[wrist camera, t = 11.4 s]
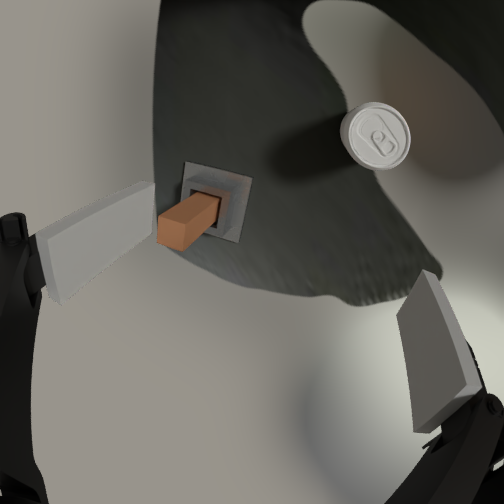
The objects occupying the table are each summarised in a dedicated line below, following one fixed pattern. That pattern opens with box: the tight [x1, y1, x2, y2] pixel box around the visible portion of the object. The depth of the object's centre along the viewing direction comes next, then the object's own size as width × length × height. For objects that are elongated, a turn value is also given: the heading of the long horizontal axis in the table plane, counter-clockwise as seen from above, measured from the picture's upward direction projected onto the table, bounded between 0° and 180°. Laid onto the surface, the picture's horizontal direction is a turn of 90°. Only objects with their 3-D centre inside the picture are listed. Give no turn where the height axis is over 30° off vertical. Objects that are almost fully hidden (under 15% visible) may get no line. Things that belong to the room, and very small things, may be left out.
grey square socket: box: [181, 161, 254, 243], centre depth 46 cm, size 12×12×4 cm
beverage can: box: [340, 102, 410, 171], centre depth 32 cm, size 8×8×12 cm
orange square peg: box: [157, 191, 222, 252], centre depth 42 cm, size 4×4×14 cm
